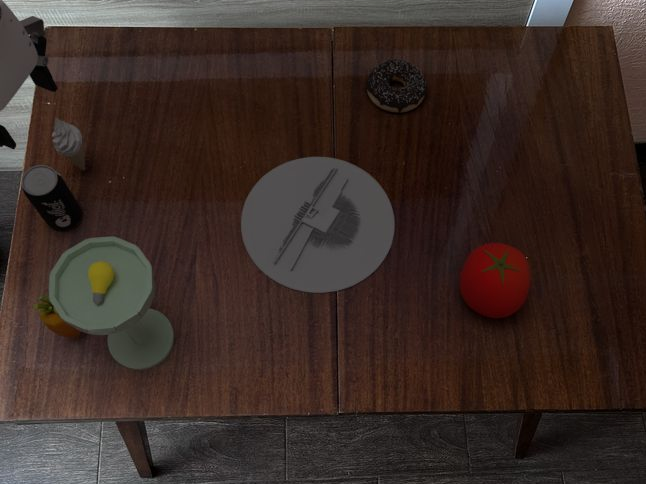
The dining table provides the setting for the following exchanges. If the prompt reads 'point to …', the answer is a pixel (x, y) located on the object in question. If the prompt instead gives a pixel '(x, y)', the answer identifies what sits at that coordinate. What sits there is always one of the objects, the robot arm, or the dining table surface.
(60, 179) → the beverage can
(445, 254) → the dining table surface
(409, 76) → the donut
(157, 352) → the stand
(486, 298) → the tomato
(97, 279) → the light bulb
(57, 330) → the carrot
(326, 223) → the plate
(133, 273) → the platter
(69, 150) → the ice cream cone
